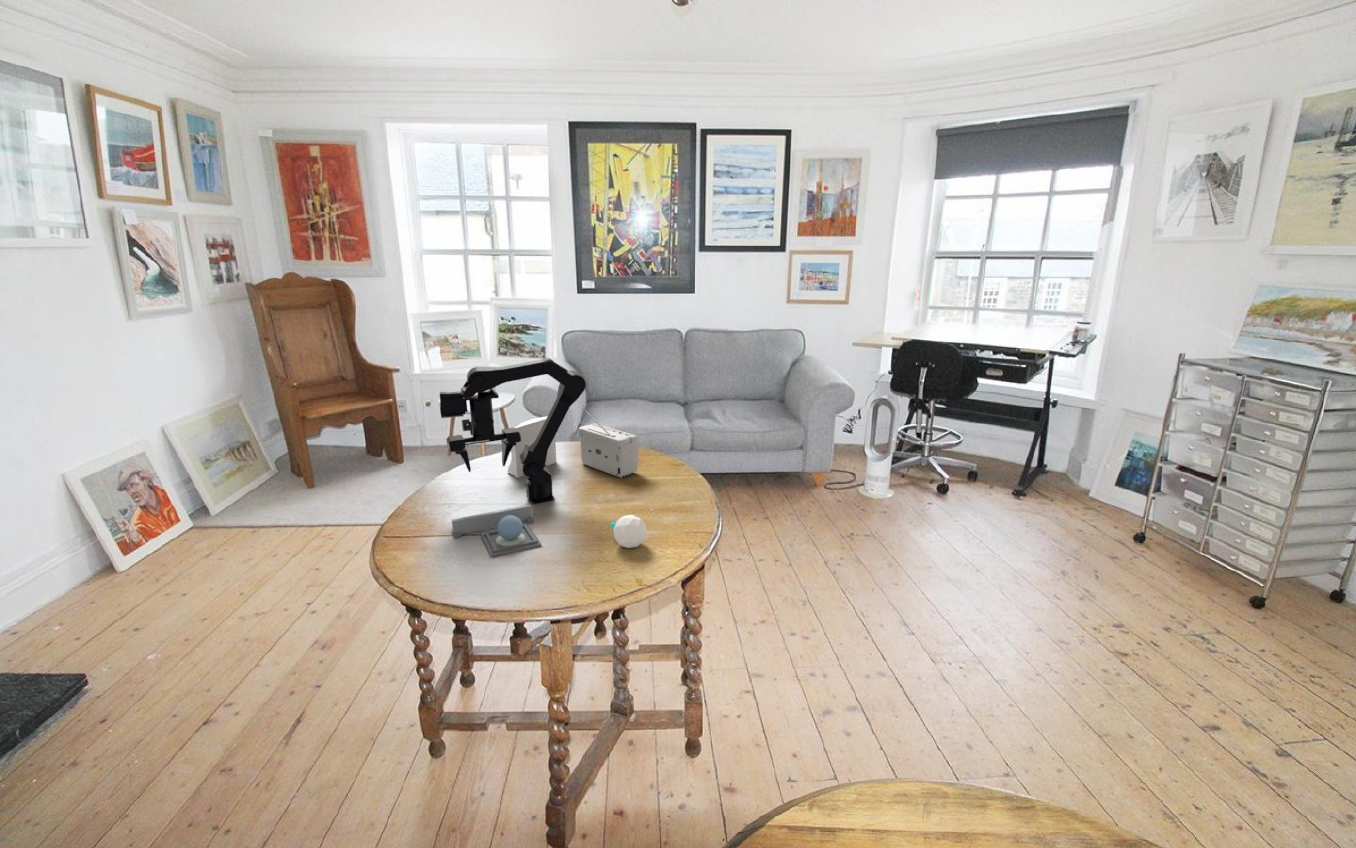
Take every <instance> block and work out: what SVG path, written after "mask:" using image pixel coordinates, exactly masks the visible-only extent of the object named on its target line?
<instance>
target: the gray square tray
mask: <svg viewBox="0 0 1356 848" xmlns="http://www.w3.org/2000/svg"><path fill="white" fill-rule="evenodd" d="M522 525H523V529H522V532H521V534H520V535H519V536H518V537H517V538H516V539H513V540H506V539H504V538H502V537H501V536H500V535H499V533H498V529H496V530H492V531H487V532H484V533H481V534H480V537H481V538H482V541H483V543H484V545H485V548H486V550H487V552H488V553H489V556H490V558H495V557H496V558H497V557H501V556H505V555H508V554H513V553H517V552H522V551H526V550H530V549H534V548H539V547H542V542H541V541H540V539H539V538H538V536H537V534H535V532H534V531H533V529H532V528H531V526H530V525H529V523H528V524H527V523H524V524H522Z"/></svg>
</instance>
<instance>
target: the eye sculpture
mask: <svg viewBox="0 0 1356 848" xmlns="http://www.w3.org/2000/svg"><path fill="white" fill-rule="evenodd" d="M547 416H548V415H547ZM547 416H542V417H536V418H531V419H529V420H526V421H524V422H521V423H519V425H516V426H515V427H514V428H515V429H516V430H517V431H518V432H519V433H520V435H521V441H520V442H516V445H515V446H513V447H512V449H511V451H510V453H511V454H510V455H511V460H510V463H509V465H508V467H507V473H509V474H510V475H512V476H513V477H514V478H516V479H519V478H522V477H524V476H525V475H524V473H523V471H522V468H521V465H520V457H519V455H520V454H521V453H522V452H523V450H524V447H525V444H527V445H528V446H531V445H532V444H533V443H534V442H535V440H536V438H537V436H538V434H539V432H540V430H541V428H542V426H543V424H544V422H545V420H546V418H547ZM556 448H557V447H556V436H555V437H554V439H553V441H552V443H551V445H550V447H549V449H548V452H547V458H546V463H545V465H547V467H548V466H551V465H554V464H556V463H557V449H556Z"/></svg>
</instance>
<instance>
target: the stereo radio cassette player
mask: <svg viewBox="0 0 1356 848" xmlns="http://www.w3.org/2000/svg"><path fill="white" fill-rule="evenodd" d="M582 410H584V411H585V412H586V413H587V415H588V416H589V417H590V418H591V419H592V420H593V421H594V423H590V424H586V425H582V426H580V427H578V433H579V434H580V455H581V457H580V460H581V462H582V464H583V465H584V466H588V467H591V468H594V469H596V470H599V471H602V472H604V473H607V474H609V475H612V476H615V477H618V478H619V477H620V478H619V479H621V478H624V477H627V476H630V475H632V474H631V473H633V474H635V473H636V472H637V471H638V469H639V467H638V466H639V440H638V436H637V435H635V434H632V433H628V432H625V431H621V430H618V429H616V428H613V427H610V426H609V427H608V426H605V425H601V423H599V421H597V420H596V419H595V418H594V417H593V416H592V415H591V414H590V413H589V412H588V411H587V410H586V408H585V407H582ZM634 472H635V473H634ZM629 474H630V475H629ZM626 475H627V476H626ZM623 476H624V477H623Z"/></svg>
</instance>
